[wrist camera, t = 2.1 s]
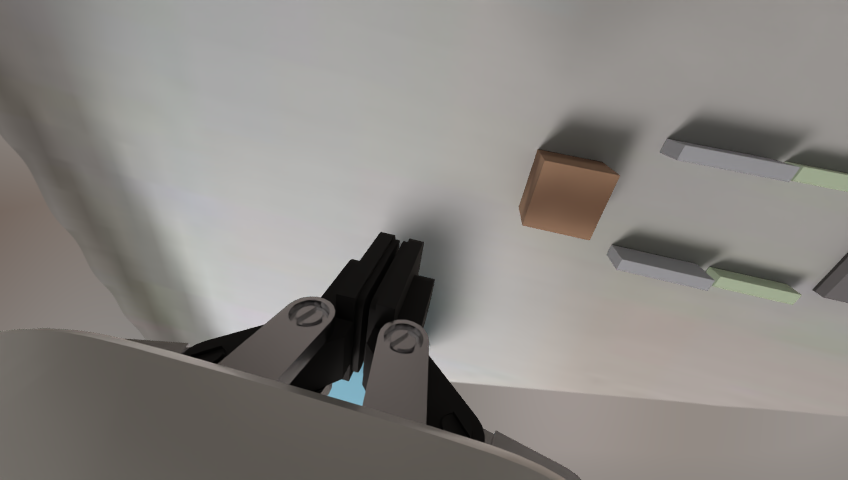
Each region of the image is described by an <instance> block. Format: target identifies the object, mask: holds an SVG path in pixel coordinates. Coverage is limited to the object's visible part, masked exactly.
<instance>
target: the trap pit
mask: <svg viewBox="0 0 848 480" xmlns="http://www.w3.org/2000/svg"><path fill="white" fill-rule="evenodd" d="M813 291H815V292H816V293H818V294H819V295H821V296H822V297H824V298H828V299H833V300H837V301H841V302H846V303H848V253H847V254H846V256H845V257H844V258H843V259H842V260H841V261H840V262H839V263H838V264H837V265H836V266H835V267H834V268H833V269H832V270H831V271H830V272H829V273H828V274H827V275H826V276H825V278H824V279H823V280H822V281H821V282H820V283H819V284H818V285H817V286H816V287H815V288H814V289H813Z"/></svg>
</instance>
